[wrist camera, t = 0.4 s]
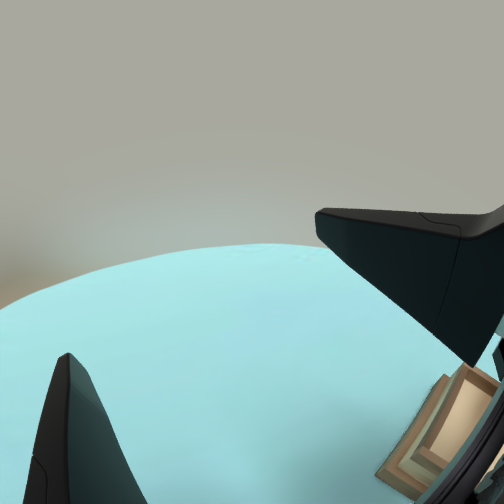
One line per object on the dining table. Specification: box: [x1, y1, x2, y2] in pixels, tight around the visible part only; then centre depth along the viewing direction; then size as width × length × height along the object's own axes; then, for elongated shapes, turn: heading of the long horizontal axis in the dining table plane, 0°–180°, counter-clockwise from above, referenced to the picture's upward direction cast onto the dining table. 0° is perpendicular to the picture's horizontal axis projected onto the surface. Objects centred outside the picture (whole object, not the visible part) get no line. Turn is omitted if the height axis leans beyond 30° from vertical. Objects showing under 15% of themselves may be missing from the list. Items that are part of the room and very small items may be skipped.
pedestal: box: [375, 362, 504, 502], centre depth 14 cm, size 10×10×5 cm
